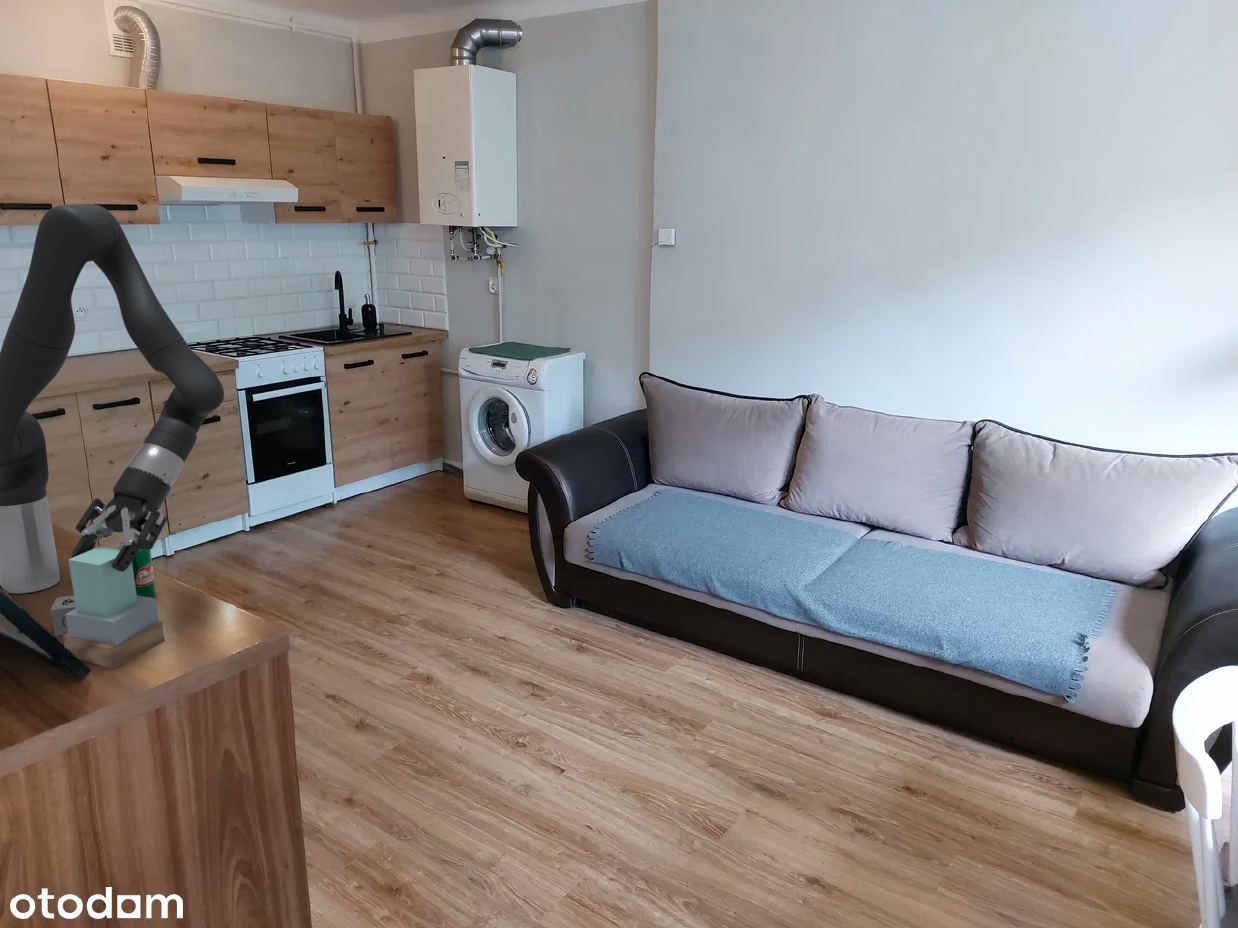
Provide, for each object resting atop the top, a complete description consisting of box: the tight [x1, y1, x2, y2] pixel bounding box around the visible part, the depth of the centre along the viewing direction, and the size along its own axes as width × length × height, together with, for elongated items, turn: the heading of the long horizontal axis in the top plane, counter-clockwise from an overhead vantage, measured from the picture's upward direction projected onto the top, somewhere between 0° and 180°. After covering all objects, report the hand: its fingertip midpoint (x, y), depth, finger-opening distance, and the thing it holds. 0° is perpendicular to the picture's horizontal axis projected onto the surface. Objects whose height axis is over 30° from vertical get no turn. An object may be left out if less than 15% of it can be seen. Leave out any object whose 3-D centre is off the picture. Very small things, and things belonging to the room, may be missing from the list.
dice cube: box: [50, 595, 76, 637], centre depth 146 cm, size 5×5×5 cm
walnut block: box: [62, 620, 165, 670], centre depth 140 cm, size 10×10×4 cm
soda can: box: [117, 537, 157, 598], centre depth 156 cm, size 5×5×12 cm
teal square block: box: [68, 545, 137, 618], centre depth 137 cm, size 6×6×9 cm
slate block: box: [65, 595, 159, 645], centre depth 139 cm, size 9×9×4 cm
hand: (97, 564), depth 135 cm, fingers open, 8 cm apart
